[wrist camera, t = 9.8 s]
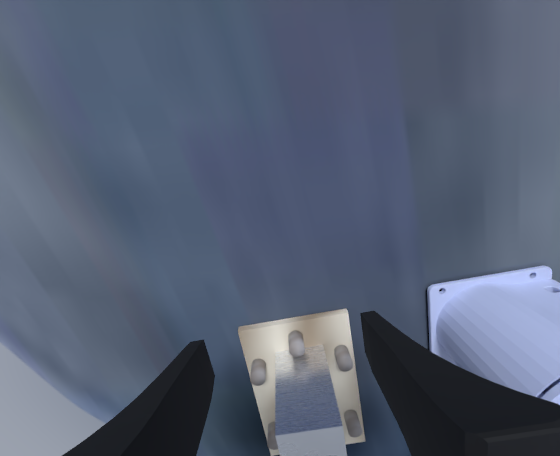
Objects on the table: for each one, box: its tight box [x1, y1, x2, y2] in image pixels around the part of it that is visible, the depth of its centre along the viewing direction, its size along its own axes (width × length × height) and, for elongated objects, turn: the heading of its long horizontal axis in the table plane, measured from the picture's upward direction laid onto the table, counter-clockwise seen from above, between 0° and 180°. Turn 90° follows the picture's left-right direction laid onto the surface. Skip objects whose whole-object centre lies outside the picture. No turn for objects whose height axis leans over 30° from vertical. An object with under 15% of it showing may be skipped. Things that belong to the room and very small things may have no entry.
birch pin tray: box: [238, 309, 365, 456], centre depth 24 cm, size 9×14×2 cm, turn 10°
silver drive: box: [275, 345, 347, 456], centre depth 21 cm, size 4×8×7 cm, turn 10°
